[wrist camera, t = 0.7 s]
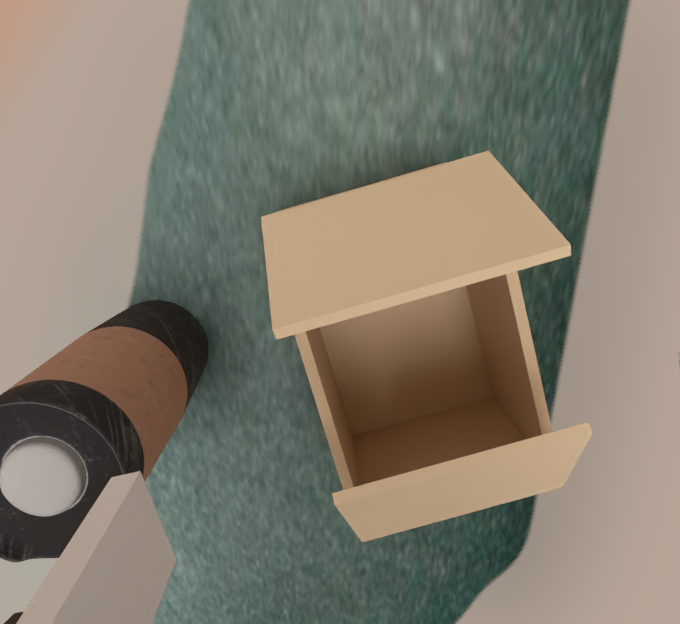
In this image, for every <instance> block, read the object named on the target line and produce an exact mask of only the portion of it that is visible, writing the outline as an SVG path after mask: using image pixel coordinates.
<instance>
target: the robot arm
mask: <svg viewBox="0 0 680 624" xmlns="http://www.w3.org/2000/svg"><path fill="white" fill-rule="evenodd" d="M679 364H680V352H679ZM175 563H176V558H175V556H174V553H173V551H172V548H171V546H170V543H169V541H168V538H167V536H166V533H165V531H164V528H163V526H162V523H161V521H160V519H159V516H158V514H157V511H156V509H155V506H154V504H153V501H152V499H151V496H150V494H149V491H148V489H147V486H146V484H145V481H144V479H143V476H142V474H141V471H138V472H133V473H129V474H124V475H120V476H115V477H111V479H110V480H109V482H108V483H107V485H106V486H105V488H104V490H103V491H102V493H101V494H100V496H99V497H98V499H97V500H96V502H95V503H94V505H93V506H92V508H91V509H90V511H89V513H88V514H87V516H86V517H85V519H84V520H83V522H82V523H81V525H80V526H79V528H78V529H77V531H76V533H75V534H74V536H73V537H72V539H71V540H70V542H69V543H68V545H67V546H66V548H65V549H64V551H63V552H62V554H61V556H60V557H59V559H58V560H57V562H56V563H55V565H54V566H53V568H52V569H51V571H50V572H49V574H48V576H47V577H46V579H45V580H44V582H43V583H42V585H41V586H40V588H39V589H38V591H37V592H36V594H35V596H34V597H33V599H32V600H31V602H30V603H29V605H28V606H27V608H26V610H25V611H24V612H20V613H15V614H13V615H12V616H11V617H10V618H9V619H8V620H7V621H6V622H5V623H4V624H152V623H153V620H154V617H155V615H156V612H157V610H158V607H159V604H160V602H161V599H162V596H163V594H164V591H165V589H166V586H167V583H168V581H169V578H170V576H171V573H172V570H173V568H174V565H175Z"/></svg>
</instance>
